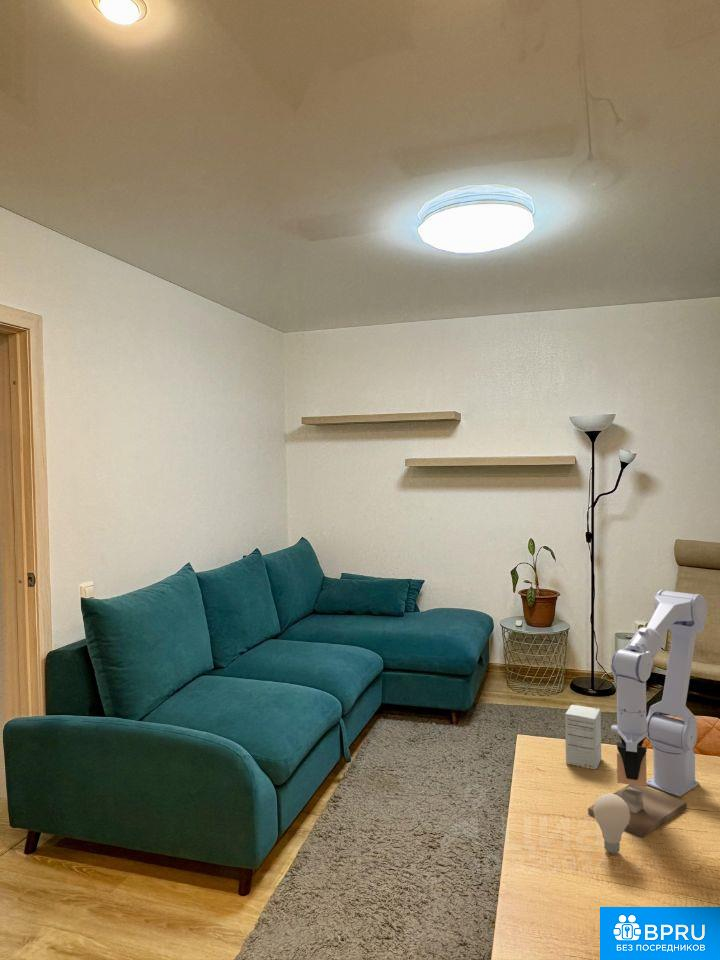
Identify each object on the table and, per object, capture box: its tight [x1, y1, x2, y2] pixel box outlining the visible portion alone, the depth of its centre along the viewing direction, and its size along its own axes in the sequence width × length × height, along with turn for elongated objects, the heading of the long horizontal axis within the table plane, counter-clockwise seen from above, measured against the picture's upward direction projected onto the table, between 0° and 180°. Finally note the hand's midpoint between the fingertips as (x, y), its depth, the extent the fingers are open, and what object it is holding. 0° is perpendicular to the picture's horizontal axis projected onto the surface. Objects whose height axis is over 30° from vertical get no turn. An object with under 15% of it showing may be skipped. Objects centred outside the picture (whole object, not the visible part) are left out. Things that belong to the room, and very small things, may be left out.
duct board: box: [587, 784, 688, 838], centre depth 142 cm, size 18×12×5 cm, turn 128°
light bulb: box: [593, 792, 630, 854], centre depth 127 cm, size 7×7×11 cm
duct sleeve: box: [616, 746, 648, 787], centre depth 141 cm, size 6×6×6 cm
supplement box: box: [564, 704, 602, 770], centre depth 166 cm, size 7×7×13 cm
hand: (632, 772), depth 141 cm, fingers closed on duct sleeve, 6 cm apart
